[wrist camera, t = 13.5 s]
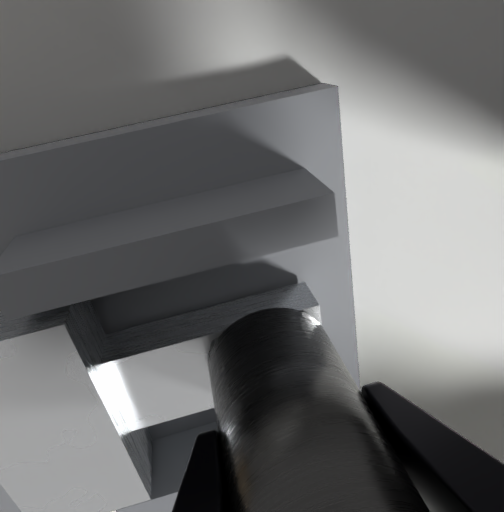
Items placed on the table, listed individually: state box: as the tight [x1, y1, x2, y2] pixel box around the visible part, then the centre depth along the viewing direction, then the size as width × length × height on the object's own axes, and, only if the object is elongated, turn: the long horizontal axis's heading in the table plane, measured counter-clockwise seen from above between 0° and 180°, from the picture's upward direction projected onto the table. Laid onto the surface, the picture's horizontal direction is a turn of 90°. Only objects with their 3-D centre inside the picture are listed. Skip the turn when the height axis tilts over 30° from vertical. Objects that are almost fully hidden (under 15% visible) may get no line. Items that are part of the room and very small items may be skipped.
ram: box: [0, 282, 430, 512], centre depth 8 cm, size 9×6×7 cm
